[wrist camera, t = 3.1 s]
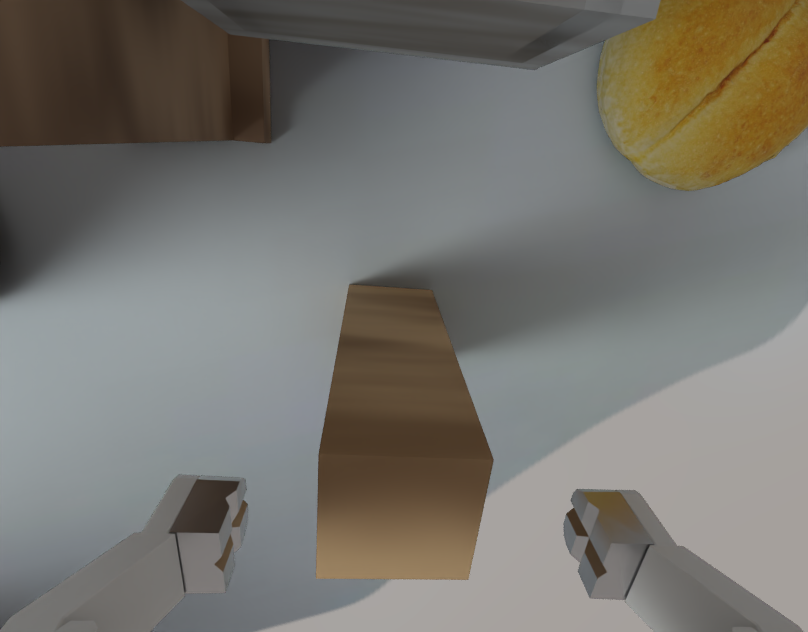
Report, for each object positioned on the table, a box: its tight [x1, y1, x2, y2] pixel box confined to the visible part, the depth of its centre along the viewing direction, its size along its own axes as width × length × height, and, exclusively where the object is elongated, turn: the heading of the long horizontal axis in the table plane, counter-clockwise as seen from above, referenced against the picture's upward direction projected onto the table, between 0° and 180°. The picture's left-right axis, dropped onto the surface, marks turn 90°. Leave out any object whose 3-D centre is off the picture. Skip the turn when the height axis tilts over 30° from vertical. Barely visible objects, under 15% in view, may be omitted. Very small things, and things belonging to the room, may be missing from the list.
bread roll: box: [597, 0, 808, 191], centre depth 16 cm, size 8×9×4 cm
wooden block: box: [316, 284, 494, 580], centre depth 16 cm, size 4×4×12 cm
